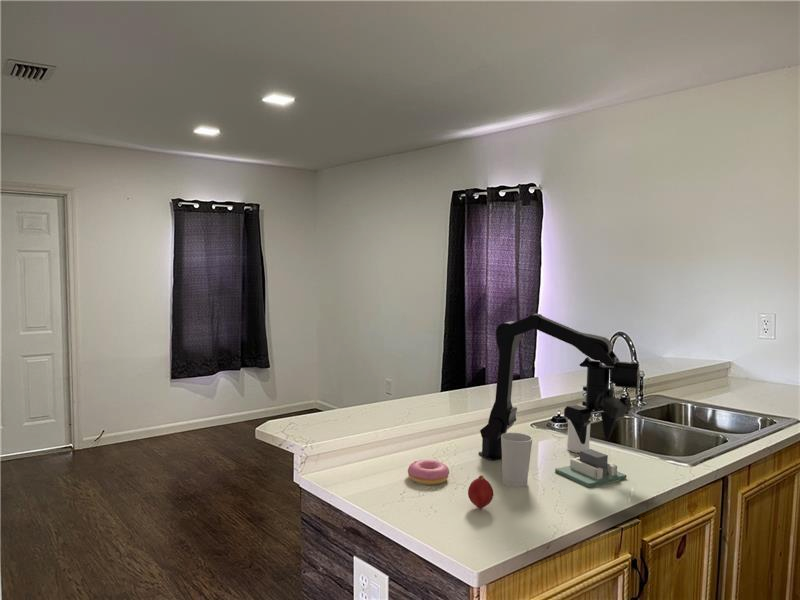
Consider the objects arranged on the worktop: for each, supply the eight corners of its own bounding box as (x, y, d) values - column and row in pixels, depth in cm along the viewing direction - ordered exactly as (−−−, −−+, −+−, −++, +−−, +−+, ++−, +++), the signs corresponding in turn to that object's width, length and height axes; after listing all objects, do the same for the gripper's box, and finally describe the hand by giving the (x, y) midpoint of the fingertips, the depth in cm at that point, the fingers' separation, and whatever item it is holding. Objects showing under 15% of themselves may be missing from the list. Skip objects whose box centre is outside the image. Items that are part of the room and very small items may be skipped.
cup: (532, 479, 156) (534, 434, 155) (528, 490, 148) (530, 443, 148) (502, 475, 158) (503, 431, 158) (496, 485, 151) (498, 439, 150)
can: (590, 454, 177) (592, 415, 176) (567, 452, 178) (569, 413, 178) (587, 448, 183) (589, 410, 183) (566, 446, 185) (567, 408, 184)
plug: (599, 477, 156) (600, 458, 155) (579, 468, 162) (580, 450, 162) (609, 474, 158) (610, 456, 157) (589, 466, 164) (590, 448, 163)
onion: (465, 503, 139) (466, 470, 139) (489, 503, 140) (490, 470, 139) (470, 514, 134) (471, 479, 133) (495, 513, 134) (496, 479, 134)
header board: (588, 487, 151) (589, 474, 151) (555, 472, 162) (555, 459, 161) (626, 478, 158) (627, 465, 158) (591, 464, 168) (592, 452, 168)
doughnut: (401, 474, 158) (401, 459, 157) (438, 470, 162) (439, 455, 161) (416, 489, 148) (417, 473, 147) (456, 484, 152) (456, 468, 151)
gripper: (596, 393, 147) (593, 455, 148) (646, 387, 156) (643, 445, 157) (563, 385, 157) (561, 442, 158) (612, 379, 166) (610, 434, 167)
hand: (595, 441), depth 160 cm, fingers open, 9 cm apart
